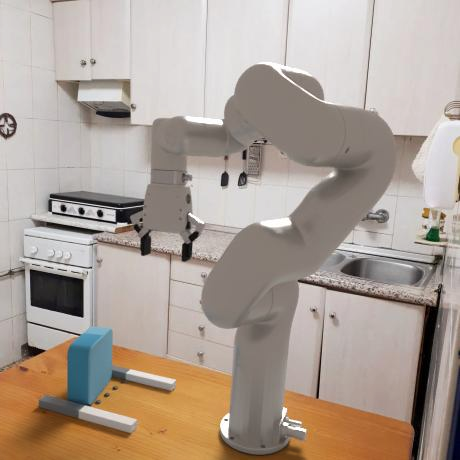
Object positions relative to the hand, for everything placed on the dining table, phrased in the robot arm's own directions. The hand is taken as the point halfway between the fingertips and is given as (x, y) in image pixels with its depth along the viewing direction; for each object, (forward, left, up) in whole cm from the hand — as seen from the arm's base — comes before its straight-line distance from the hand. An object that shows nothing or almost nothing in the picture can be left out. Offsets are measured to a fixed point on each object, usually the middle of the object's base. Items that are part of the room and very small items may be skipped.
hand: (165, 257), depth 100 cm
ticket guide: (+4, +14, -26) cm, 30 cm away
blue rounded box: (+9, +14, -27) cm, 31 cm away
